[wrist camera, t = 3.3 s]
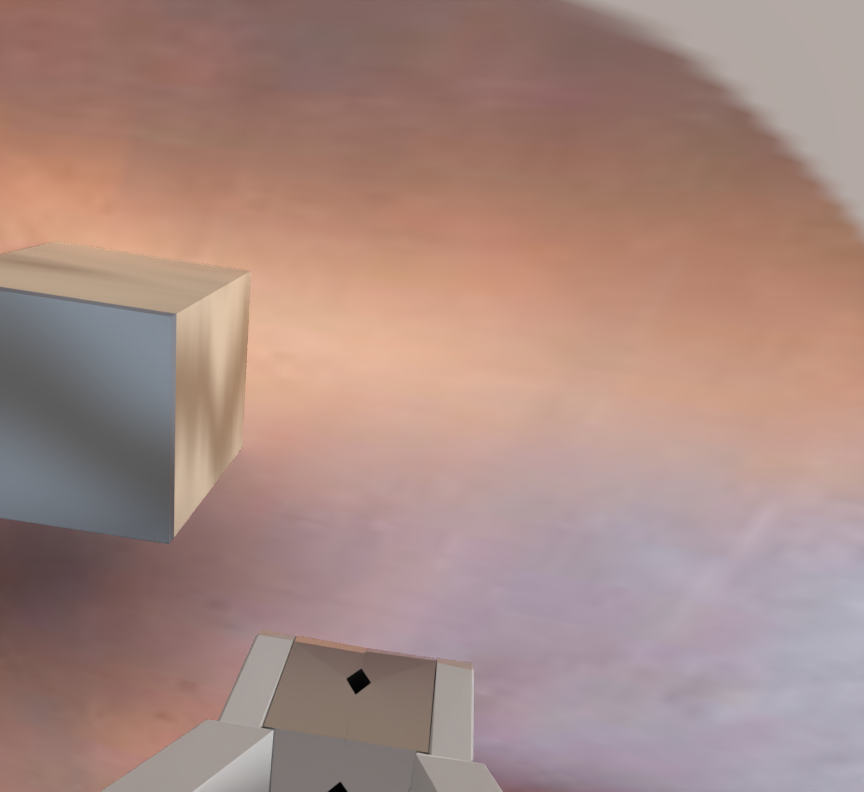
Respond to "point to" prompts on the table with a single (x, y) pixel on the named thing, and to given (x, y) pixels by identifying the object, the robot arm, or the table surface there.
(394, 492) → the table surface
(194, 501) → the maple cube
